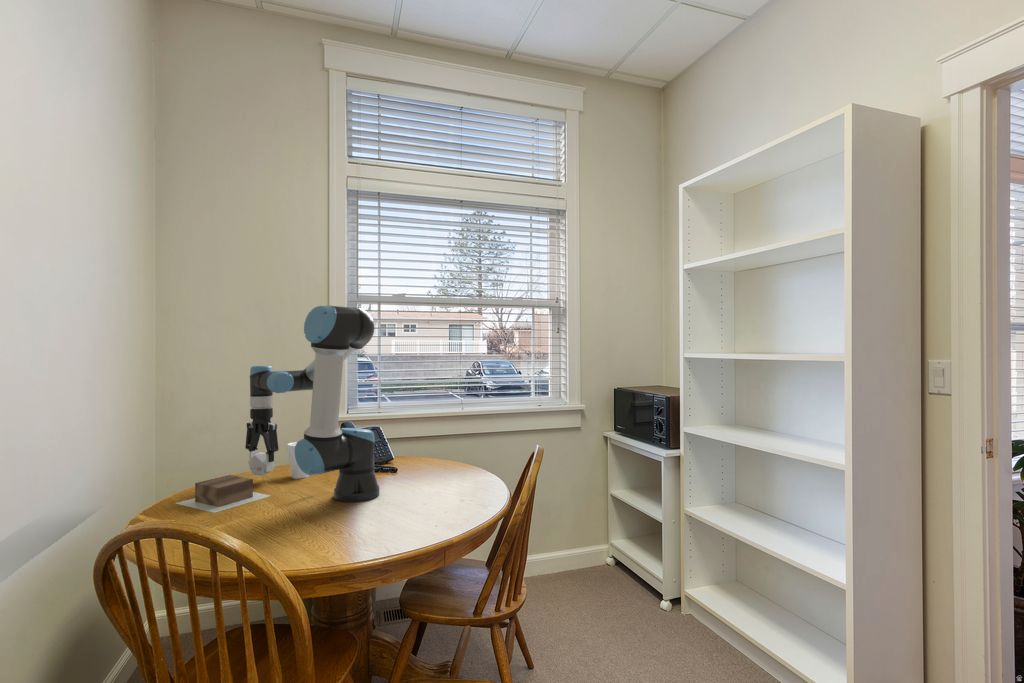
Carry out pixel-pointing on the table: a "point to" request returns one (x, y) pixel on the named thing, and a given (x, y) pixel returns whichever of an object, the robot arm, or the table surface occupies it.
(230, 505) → the base plate
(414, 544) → the table surface
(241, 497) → the walnut block
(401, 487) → the table surface
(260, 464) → the die
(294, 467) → the foam cup
